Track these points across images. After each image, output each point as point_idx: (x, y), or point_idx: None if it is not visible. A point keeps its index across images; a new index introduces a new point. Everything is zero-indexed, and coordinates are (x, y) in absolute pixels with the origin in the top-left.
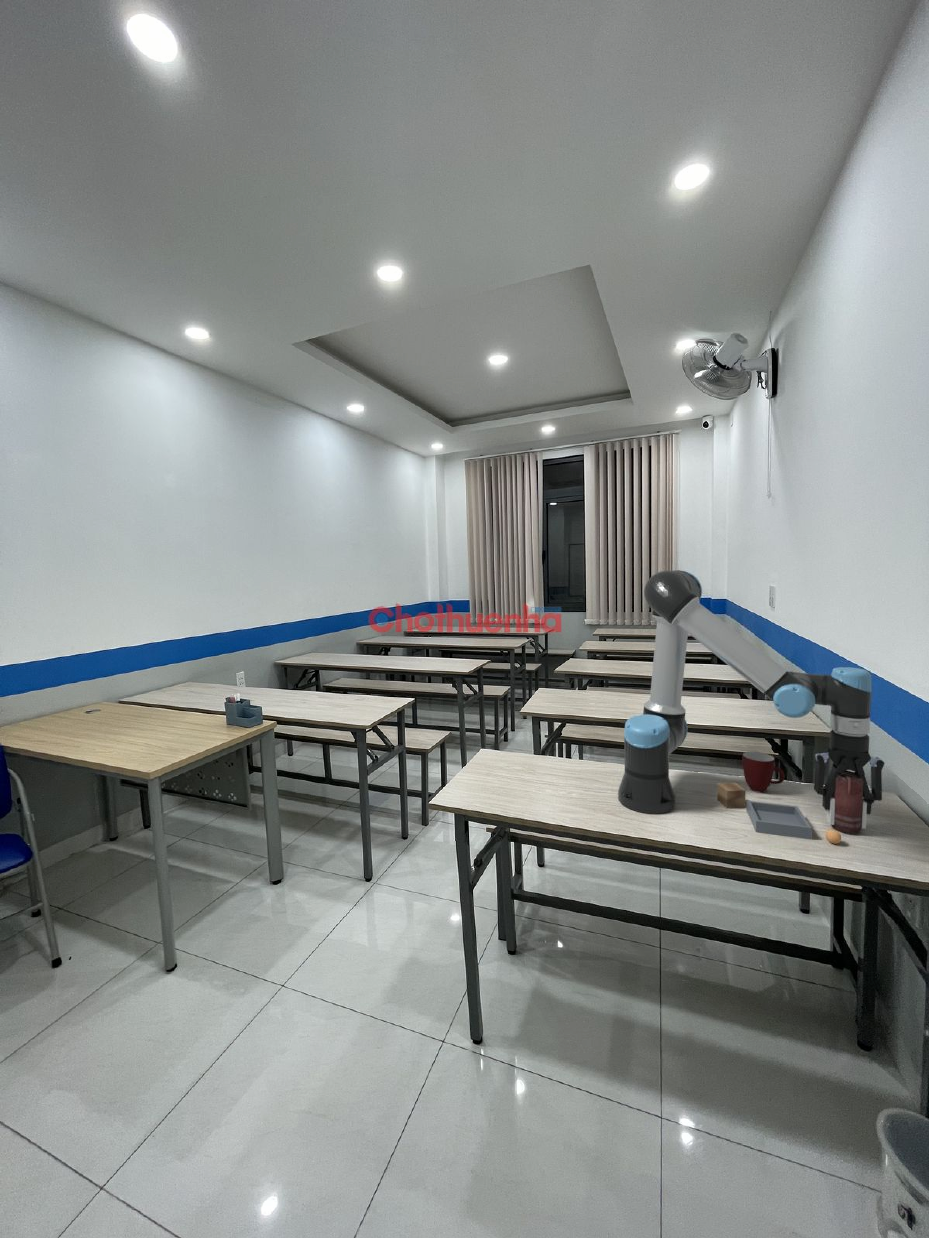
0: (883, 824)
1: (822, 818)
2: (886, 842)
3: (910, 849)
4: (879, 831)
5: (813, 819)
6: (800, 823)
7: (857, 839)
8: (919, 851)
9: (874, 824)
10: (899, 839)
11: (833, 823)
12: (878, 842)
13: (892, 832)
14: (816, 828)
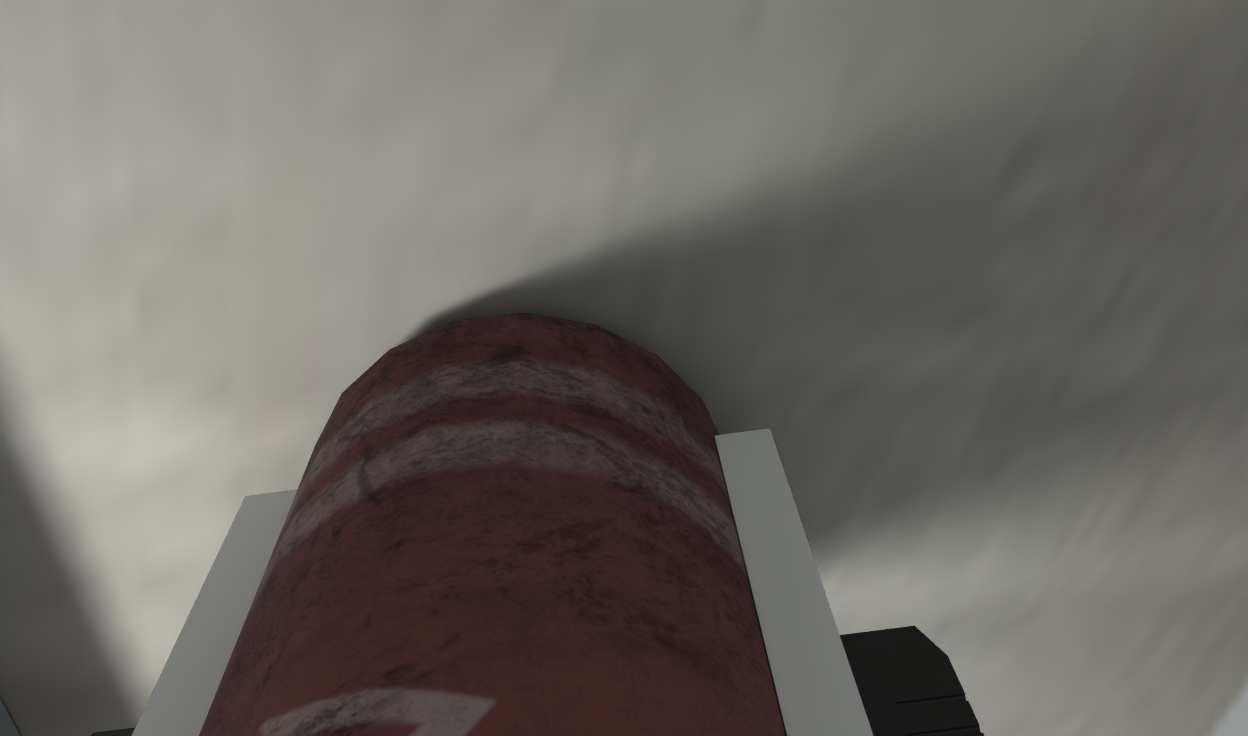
0: (1202, 48)
1: (212, 236)
2: (946, 649)
3: (1149, 705)
4: (1000, 366)
5: (74, 342)
6: None
7: None
8: (1227, 711)
9: (1038, 118)
10: (1162, 508)
11: None
12: None
13: (1186, 322)
14: (140, 623)
